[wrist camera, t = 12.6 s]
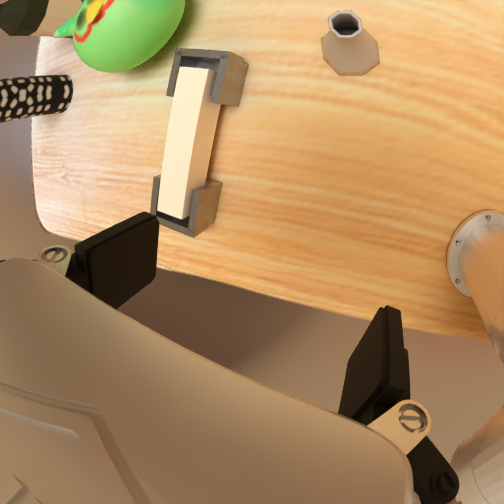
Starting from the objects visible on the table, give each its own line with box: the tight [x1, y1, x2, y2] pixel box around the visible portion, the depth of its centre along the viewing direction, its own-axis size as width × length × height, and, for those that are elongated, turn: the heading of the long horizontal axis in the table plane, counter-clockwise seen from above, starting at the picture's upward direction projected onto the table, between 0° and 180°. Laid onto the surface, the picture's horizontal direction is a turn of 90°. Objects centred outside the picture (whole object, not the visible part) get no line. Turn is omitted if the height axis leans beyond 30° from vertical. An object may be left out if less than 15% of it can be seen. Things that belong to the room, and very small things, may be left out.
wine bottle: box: [0, 0, 84, 38], centre depth 24 cm, size 8×8×30 cm
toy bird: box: [54, 0, 185, 73], centre depth 28 cm, size 18×17×15 cm
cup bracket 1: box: [166, 48, 248, 106], centre depth 33 cm, size 8×6×6 cm
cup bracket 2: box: [150, 175, 222, 238], centre depth 41 cm, size 8×6×6 cm
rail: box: [157, 67, 221, 219], centre depth 35 cm, size 4×19×5 cm, turn 167°
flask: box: [321, 11, 380, 75], centre depth 24 cm, size 7×7×10 cm
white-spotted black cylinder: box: [0, 75, 73, 123], centre depth 37 cm, size 8×8×20 cm
